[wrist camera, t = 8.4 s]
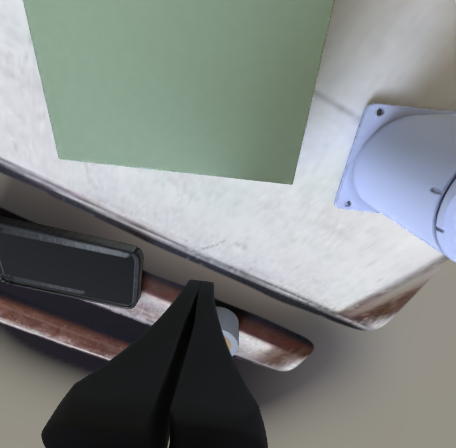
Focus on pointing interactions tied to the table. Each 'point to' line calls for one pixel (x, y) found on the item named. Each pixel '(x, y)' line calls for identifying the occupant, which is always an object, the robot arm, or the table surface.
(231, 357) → the robot arm
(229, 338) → the cylinder
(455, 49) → the table surface
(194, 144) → the cabinet
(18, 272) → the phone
